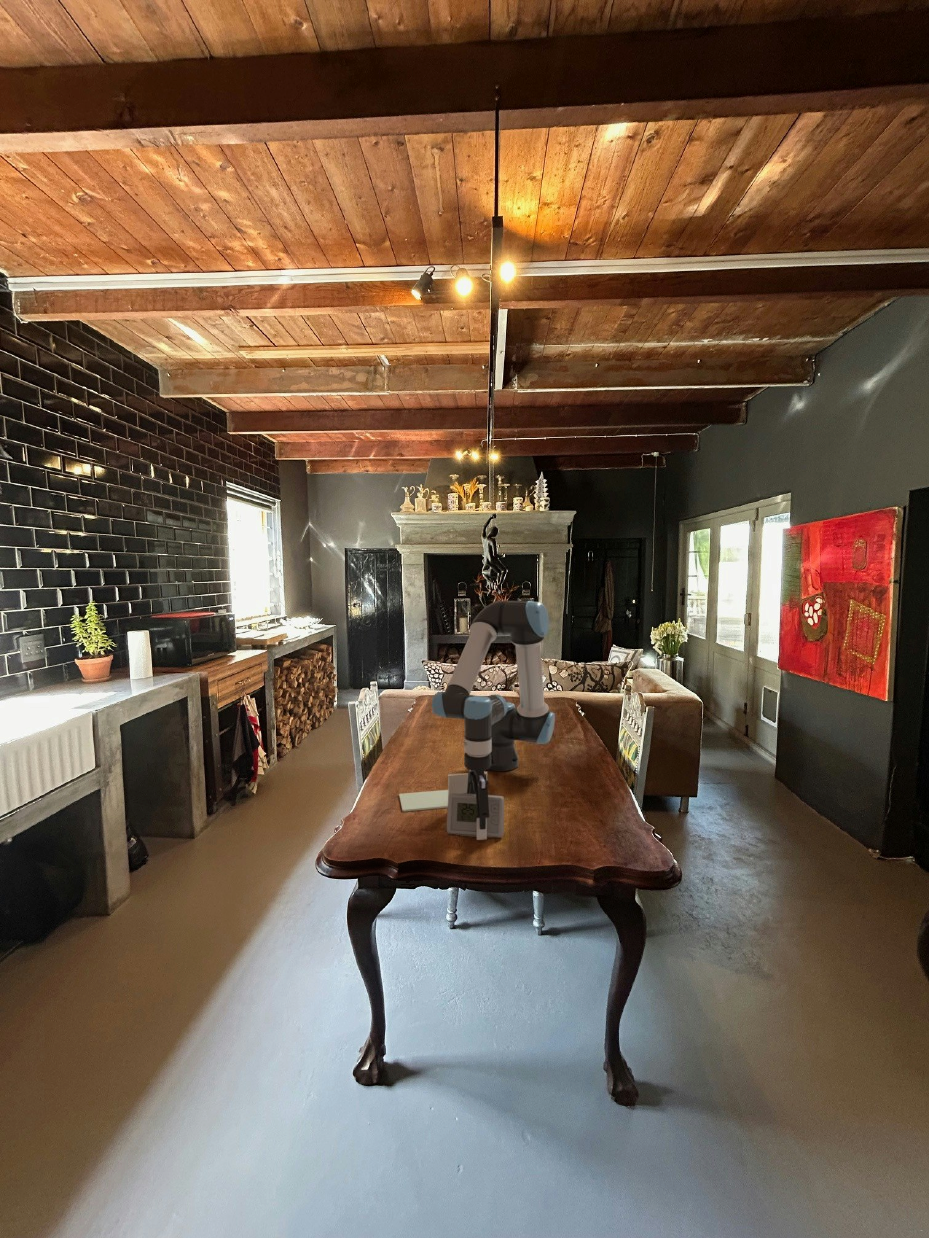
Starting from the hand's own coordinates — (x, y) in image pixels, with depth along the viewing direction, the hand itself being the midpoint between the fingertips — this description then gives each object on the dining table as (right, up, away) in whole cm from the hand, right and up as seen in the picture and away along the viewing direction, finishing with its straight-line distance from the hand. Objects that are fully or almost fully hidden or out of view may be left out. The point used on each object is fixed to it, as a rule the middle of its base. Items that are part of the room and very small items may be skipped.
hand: (477, 830), depth 151 cm
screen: (-3, +1, +13) cm, 13 cm away
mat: (-14, +1, +20) cm, 25 cm away
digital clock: (-1, -1, 0) cm, 1 cm away
